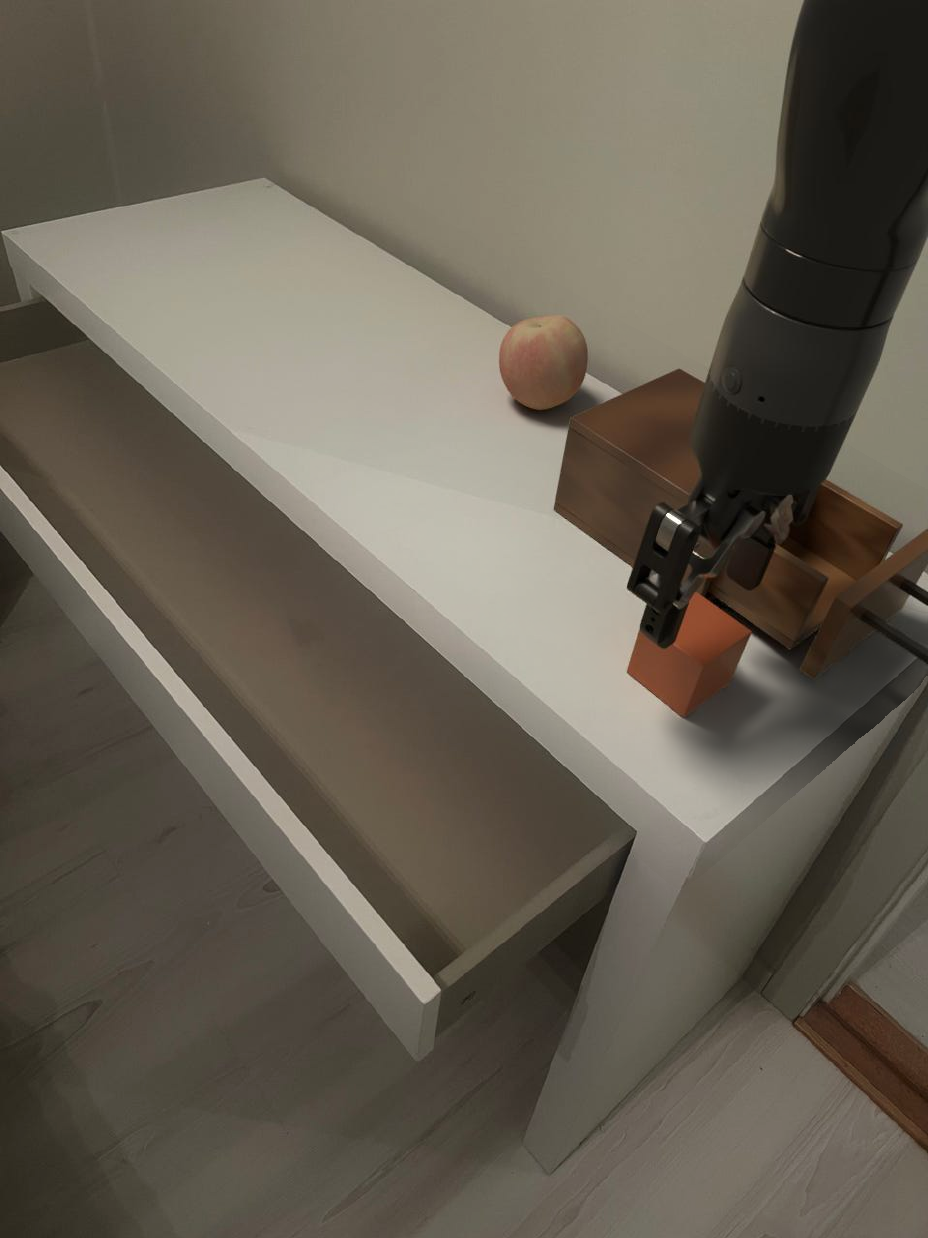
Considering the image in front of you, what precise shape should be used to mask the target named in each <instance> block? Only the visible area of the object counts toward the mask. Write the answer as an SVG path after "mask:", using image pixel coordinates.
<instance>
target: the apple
mask: <svg viewBox="0 0 928 1238" xmlns="http://www.w3.org/2000/svg"><path fill="white" fill-rule="evenodd" d="M588 358H589V353H588V345H587V341H586V338H585V335H584V334H583V332H582V330H581V329H580V327H579V326H577V324H576V323H574V322H573V321H572V320H571V319H570V318H568V317H566V316H563V315H558V314H553V315H546V316H539V317H531V318H526V319H523V320H521V321H520V322H518V323H516V324H514V325H513V326H511V327H510V328H509V329H508V331H507V332H506V333H505V335H504V336H503V338H502V341H501V344H500V346H499V352H498V368H499V374H500V376H501V380H502V382H503V384H504V386H505V388H506V390H507V391H508V393H509V394H510V395H511V396H512V397H513V398H514V399H515V401H517V403H520V404H521V405H523V406H524V407H527V408H530V409H532V410H538V411H542V410H548V409H551V408H554V407H556V406H559V405H562V404H564V403H565V402H567V401H569V400H570V399H571V398H572V397H574V395H576V393H577V392H578V391H579V390H580V388H581V386H582V385H583V383H584V381H585V378H586V373H587V369H588V363H589V362H588V360H589V359H588Z"/></svg>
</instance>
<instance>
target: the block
mask: <svg viewBox="0 0 928 1238" xmlns="http://www.w3.org/2000/svg"><path fill="white" fill-rule="evenodd" d="M752 633H753V632H752V630H751V629H749V628H748V627H746V626H745V625H744V624H742V623H741V622H739V621H738V620H737V619H736V618H734V617H732V616H731V615H730V614H729V613H727V612H726V611H724V610H723V609H721V608H720V607H719V606H717V605H716V604H714V603H713V602H712V601H711V602H710V601H709V600H707V599H706V598H704V597H703V596H702V595H700V594H699V593H697V592H695V593H694V595H693V596H692V598H691V599H690V601H689V605H688V607H687V610H686V613H685V616H684V618H683V621H682V624H681V627H680V630H679V632H678V635H677V638H676V641H675V643H673V644H672V645H670V646H669V647H667V648H666V649H662V648H660V647H659V646H658V645H656V644H655V643H654V642H653V641H651V640H650V639H649V638H647V637H646V636H645V635H644V634H643V633H642V632H641V631H640V628H639V629H638V632H637V636H636V638H635V642H634V646H633V649H632V652H631V656H630V659H629V662H628V665H627V669H626V673H627V674H628V675H629V676H631V677H632V678H634V679H635V680H636V681H637V682H638V683H640V684H641V685H642V686H643V687H645V689H647V690H648V691H649V692H650V693H652V694H653V695H655V697H657V698H658V699H659V700H661V701H662V702H663V703H664V704H666V706H667V707H669V708H671V709H672V710H673V711H674V712H675V713H676V714H677V715H679V716H680V717H681V718H683V719H684V718H685V717H687V716H688V715H690V714H691V713H692V712H694V711H695V710H696V709H697V708H698V707H700V706H701V705H703V704H704V703H705V702H706V701H708V700H710V699H711V698H712V697H713V696H715V695H716V694H717V693H719V692H720V691H721V690H723V689H724V688H725V687H726V686H728V685H729V684H730V683H732V679H733V677H734V675H735V673H736V670H737V668H738V666H739V663H740V661H741V658H742V656H743V654H744V651H745V649H746V646H747V644H748V642H749V640H750V637H751V635H752Z"/></svg>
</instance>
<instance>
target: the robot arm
mask: <svg viewBox="0 0 928 1238" xmlns="http://www.w3.org/2000/svg"><path fill="white" fill-rule="evenodd" d="M785 72H786V73H785V79H784V87H783V94H782V95H783V96H782V101H781V108H780V109H781V111H780V117H779V125H778V130H777V131H778V132H777V141H776V152H775V171H774V180H773V185H772V188H771V190H770V193H769V195H768V198H767V200H766V203H765V206H764V209H763V211H762V214H761V219H760V222H759V225H758V228H757V232H756V234H755V238H754V241H753V244H752V248H751V250H750V254H749V257H748V261H747V264H746V266H745V271H744V274H743V276H742V278H741V282H740V285H739V287H738V289H737V291H736V294H735V296H734V298H733V299H732V302H731V304H730V306H729V308H728V310H727V312H726V315H725V317H724V321H723V324H722V327H721V329H720V333H719V336H718V339H717V342H716V346H715V349H714V353H713V355H712V359H711V362H710V365H709V367H708V372H707V376H706V380H705V382H704V383H705V385H704V388H703V392H702V395H701V398H700V401H699V405H698V408H697V411H696V414H695V418H694V421H693V424H692V428H691V431H690V444H691V448H692V451H693V453H694V455H695V457H696V459H697V462H698V465H699V468H700V471H701V477H700V478H699V480H698V482H697V484H696V485H695V487H694V488H693V490H692V491H691V493H690V494H689V497H688V500H687V503H686V505H685V506H683V507H681V508H679V509H677V510H675V509H673V508H672V507H670V506H669V505H668V504H666V503H665V502H661V503H659V504H658V505H657V506H656V507H655V508H654V509H653V511H652V512H651V515H650V518H649V521H648V524H647V527H646V530H645V533H644V536H643V539H642V542H641V545H640V548H639V551H638V554H637V557H636V560H635V563H634V566H633V567H632V569H631V572H630V575H629V578H628V581H627V583H626V589H627V591H629V592H630V593H631V594H633V595H634V596H636V597H637V598H638V599H639V600H641V601H642V602H643V603H645V607H644V611H643V613H642V617H641V620H640V623H639V629H640V631H641V632H642V633H643V634H644V635H645V636H646V637H647V638H649V639H650V640H651V641H653V642H654V643H655V644H656V645H658V646H659V647H660V648H662V649H666V648H667V647H669V646H670V645H672V644H673V643H675V641H676V638H677V635H678V632H679V630H680V627H681V624H682V621H683V618H684V616H685V613H686V610H687V607H688V605H689V601H690V599H691V598H692V596H693V595H694V593H695V592H696V591H697V589H698V588H699V586H700V585H701V584H702V582H703V581H704V580H705V579H706V578H708V577H711V578H712V577H716V576H717V575H719V573H720V572H721V571H722V569H723V568H724V566H725V565H726V564H727V562H728V561H729V559H730V561H729V564H728V566H727V569H726V574H727V576H728V577H729V578H730V579H731V580H733V581H734V582H736V583H737V584H739V585H740V586H741V587H743V588H744V589H746V590H748V591H751V590H753V589H754V588H756V587H757V586H759V585H760V583H761V581H762V578H763V576H764V574H765V571H766V569H767V567H768V564H769V562H770V560H771V557H772V555H773V553H774V550H775V548H776V545H775V544H777V545H779V544H781V543H782V542H783V541H784V540H785V539H786V538H787V536H788V533H789V531H790V528H789V525H790V524H791V523H793V524H795V525H797V526H800V525H801V524H802V523H803V522H805V521H806V520H807V518H808V515H809V513H810V510H811V508H812V505H813V503H814V500H815V498H816V496H817V493H818V491H819V488H820V486H821V484H822V482H823V481H824V480H825V479H827V478H828V476H829V475H830V473H831V471H832V469H833V467H834V466H835V465H834V464H835V462H836V460H837V458H838V455H839V454H840V451H841V449H842V447H843V445H844V443H845V440H846V438H847V436H848V434H849V432H850V429H851V427H852V424H853V422H854V420H855V418H856V416H857V413H858V411H859V409H860V407H861V404H862V402H863V400H864V397H865V395H866V393H867V391H868V389H869V387H870V384H871V382H872V380H873V378H874V375H875V373H876V371H877V368H878V366H879V363H880V361H881V358H882V354H883V351H884V349H885V345H886V340H887V336H888V333H889V330H890V326H891V324H892V322H893V319H894V316H895V313H896V312H897V310H898V307H899V305H900V303H901V301H902V298H903V296H904V295H905V291H906V289H907V287H908V284H909V282H910V280H911V279H912V278H911V277H912V275H913V273H914V271H915V268H916V266H917V264H918V262H919V260H920V257H921V255H922V252H923V251H924V247H925V245H926V243H927V241H928V0H803V1H802V4H801V7H800V11H799V13H798V17H797V21H796V25H795V29H794V32H793V35H792V41H791V45H790V50H789V54H788V61H787V67H786V71H785ZM795 494H799V495H800V498H799V500H798V503H797V502H795V501H794V500H793V497H792V495H795ZM698 538H699V539H700V540H701V541H703V542H704V543H706V544H707V545H709V546H710V547H712V548H713V549H715V550H716V551H715V552H714V554H713V555H712V556H711V557H708V558H705V557H704V556H702V555H701V554H699V553H698V552H697V551H695V550H696V549H697V548H698V547H699V542H698V541H697V540H698ZM688 564H689V565H690V566H691V567H692V571H691V573H690V574H689V576H688V577H687V578H686V580H685V581H684V583H683V584H681V582H682V579H683V577H684V574H685V572H686V569H687V566H688ZM651 569H652V571H651Z"/></svg>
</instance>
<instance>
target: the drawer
mask: <svg viewBox="0 0 928 1238" xmlns="http://www.w3.org/2000/svg"><path fill="white" fill-rule="evenodd" d="M792 497H793V500H794V501H795V502H797V503H798V500H799V498H800V495H799V494H795V495H792ZM903 526H904V524H903V523H902V522H900V521H898V520H896V518H893V517H891V516H890V515H888V514H886V513H885V512H883V511H882V510H879V509H878V508H877V507H874V506H873V505H871V504H869V503H867V502H866V501H864V500H862V499H861V498H859V497H857V496H855V494H852V493H851V492H849V491H847V490H846V489H844V488H842V487H840V486H839V485H837V484H835V483H834V482H832V481H830V480H829V479H827V478H826V479H825V480H824V481H823V482H822V484H821V486H820V488H819V491H818V493H817V496H816V498H815V500H814V503H813V505H812V508H811V510H810V513H809V515H808V518H807V520H806V521H805V522H803V523H802V524H801V525H800V526H797V525H795V524H793V523H791V524H790V525H789V528H790V531H789V533H788V536H787V538H786V539H785V540H784V541H783V542H782V543H781V544H779V545H777V544H775V545H776V548H775V550H774V553H773V555H772V557H771V560H770V562H769V564H768V567H767V569H766V571H765V574H764V576H763V578H762V581H761V583H760V585H759V586H757V587H756V588H754V589H753V590H751V591H748V590H746V589H744V588H743V587H741V586H740V585H739V584H737V583H736V582H734V581H733V580H731V579H730V578H729V577H728V576H727V574H726V569H727V566H728V564H729V561H730V559H729V561H728V562H727V564H726V565H725V566H724V568H723V569H722V571H721V572H720V573H719V575H717V576H716V577H712V580H711V582H710V585H709V588H708V592H709V593H711V594H712V595H714V596H715V597H716V599H718V600H719V601H720V602H722V603H724V604H725V605H726V606H727V607H729V608H731V609H732V610H733V611H735V612H736V613H738V615H740V616H741V617H743V618H745V619H746V620H747V621H749V622H750V623H752V624H753V625H754V626H755V627H757V628H759V629H760V630H761V631H762V632H764V633H765V634H767V635H768V636H770V637H771V638H773V639H774V640H776V641H777V642H778V643H780V644H781V645H782V646H784V647H785V648H787V649H788V650H789V651H791V650H792V649H794V648H795V647H796V646H797V645H799V644H801V643H802V642H803V641H804V640H806V639H807V638H808V637H809V636H811V635H812V634H814V633H815V632H817V633H816V634H815V637H814V639H813V641H812V643H811V644H810V647H809V649H808V651H807V653H806V655H805V657H804V658H803V661H802V663H801V664H800V667H799V671H801V672H802V673H804V674H805V675H806V676H808V677H809V678H811V680H816V679H817V678H818V677H819V676H821V675H822V674H823V673H824V672H825V671H827V670H828V669H829V668H831V667H832V666H833V665H835V663H837V662H838V661H839V660H840V659H842V658H843V657H844V656H846V655H847V654H848V653H849V652H850V651H852V650H853V649H854V648H855V647H857V646H858V645H859V644H861V642H863V641H864V640H865V639H866V638H868V637H869V636H870V635H871V634H873V633H874V632H875V631H876V632H878V633H880V635H883V636H884V637H886V638H887V639H888V640H890V641H892V642H893V643H894V644H896V645H898V646H899V647H901V649H904V650H905V651H907V652H908V653H910V654H911V655H913V656H914V657H915V658H917V659H919V660H920V661H922V662H924V664H926V665H928V647H926V646H924V645H923V644H921V643H920V642H918V641H917V640H915V639H914V638H912V637H910V636H909V635H907V634H906V633H904V632H903V631H901V630H900V629H898V628H897V627H895V626H893V625H891V624H890V623H889V622H888V620H890V619H891V618H893V617H894V616H895V615H896V614H898V613H899V612H900V611H902V609H903V608H904V606H905V605H906V602H907V601H908V599H909V597H912V598H914V599H916V600H917V601H918V602H920V603H922V604H923V605H925V606H927V607H928V590H927V589H924V588H923V587H921V586H919V585H918V582H919V580H920V578H921V577H922V575H923V573H924V572H925V570H926V568H927V566H928V528H926V529H925V530H923V531H922V532H920V533H919V534H917V535H916V536H915V537H914V538H912V539H911V540H909V541H908V542H907V543H906V544H904V545H903V546H902V547H900V548H899V549H897V550H896V551H895V552H894V553H892V554H890V556H888V555H889V552H890V551H891V549H892V547H893V545H894V543H895V541H896V540H897V538H898V537H899V534H900V532H901V530H902V528H903ZM817 630H818V631H817Z"/></svg>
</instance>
